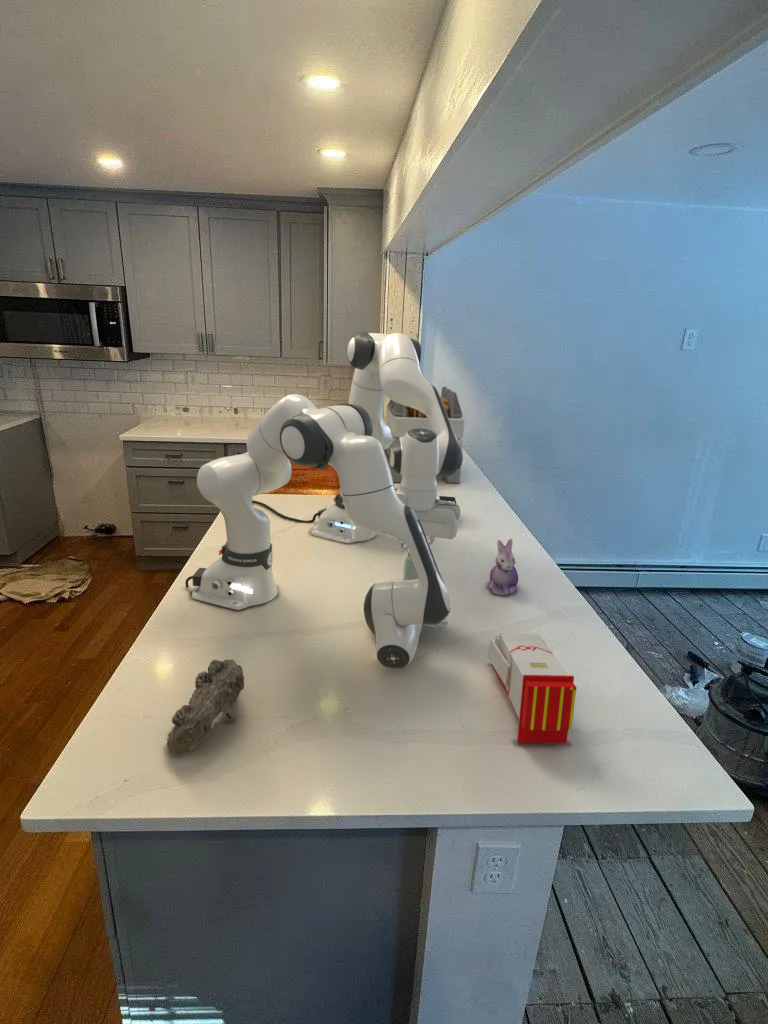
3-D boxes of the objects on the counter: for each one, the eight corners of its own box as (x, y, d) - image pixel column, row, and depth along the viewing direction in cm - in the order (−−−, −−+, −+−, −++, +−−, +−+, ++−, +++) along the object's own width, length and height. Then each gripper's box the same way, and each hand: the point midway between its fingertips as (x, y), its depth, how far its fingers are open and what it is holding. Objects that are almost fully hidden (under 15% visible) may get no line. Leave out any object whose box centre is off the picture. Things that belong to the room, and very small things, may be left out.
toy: (536, 617, 130) (585, 683, 100) (531, 671, 132) (578, 750, 103) (483, 616, 129) (518, 682, 100) (479, 670, 132) (511, 749, 103)
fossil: (192, 660, 117) (244, 628, 112) (224, 691, 120) (276, 661, 115) (142, 746, 98) (202, 712, 93) (182, 779, 101) (242, 748, 96)
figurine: (501, 599, 157) (507, 549, 152) (479, 583, 165) (484, 536, 160) (527, 593, 161) (534, 544, 156) (504, 578, 170) (510, 531, 165)
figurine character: (458, 530, 209) (453, 512, 222) (460, 512, 205) (455, 494, 219) (440, 529, 209) (436, 511, 222) (442, 511, 205) (438, 494, 219)
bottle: (397, 611, 149) (402, 539, 142) (413, 608, 151) (418, 537, 144) (406, 620, 145) (411, 546, 138) (422, 616, 147) (428, 544, 140)
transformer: (382, 463, 289) (386, 382, 275) (445, 464, 293) (451, 384, 279) (390, 482, 257) (394, 392, 243) (460, 483, 261) (468, 394, 247)
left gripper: (449, 614, 131) (453, 587, 144) (362, 603, 134) (374, 577, 147) (446, 637, 133) (450, 609, 146) (361, 626, 136) (373, 599, 149)
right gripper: (462, 498, 138) (457, 550, 142) (380, 489, 142) (378, 540, 146) (459, 506, 132) (454, 560, 137) (374, 496, 136) (372, 549, 141)
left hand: (411, 593), depth 147 cm, fingers closed on bottle, 5 cm apart
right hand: (414, 549), depth 142 cm, fingers open, 5 cm apart
